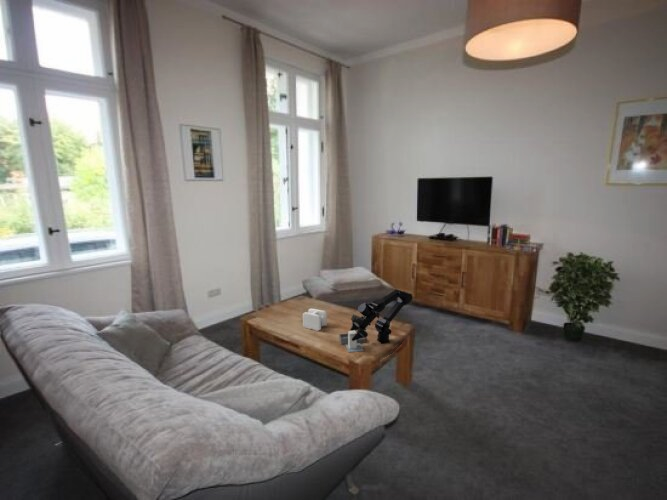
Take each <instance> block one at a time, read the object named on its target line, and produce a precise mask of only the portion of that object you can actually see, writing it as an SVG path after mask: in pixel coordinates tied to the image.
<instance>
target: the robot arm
mask: <svg viewBox="0 0 667 500" xmlns="http://www.w3.org/2000/svg"><path fill="white" fill-rule="evenodd" d="M395 300H396V302H395V303H394V304H393V306H392V307H391V308H390V309H389V310H388V312H387V313H386V314H385V316H383V317H381V316H380V313H381V312H383V310H384V309H385V308H386V306H387V305H389V304H390V303H392V302H393V301H395ZM412 301H413V294H412V293H409V292H408V291H405V290H400V289H398V288H396V289H393V291H392V292H390V293H389V294H387V295H385V296H384V297H382V298H379V299H378V298H377V299H375V300H373V301H371V303H367V302H363V303H361V304H360V305H358V307H357V312H359V314H361V316H358V315H355V314H352V316H351V318H350V320H351V323H352V324H351V328H350V329H349V331H352V330H355V331H356V334H355V336H354V337H353V338H352V341H354V340H357V339H360V338H365V339H367V337H368V335H369V333H368V331H367V328H368V326H371V323H372V322H373V321H374V320H375V319H376V318H377V320H376V321H375V324H374V328H375V330H376V331H377V332H378V333H377V338H376V341H378V343H380V344H381V345H383V344H389V343H391V340H390V335H391V334H392V329H391V328H390V326H391V323H392V320H393V319H394V318H395V317H396V316H397V314H399V312H400V311H401V310H402V308H403V307H404V306H406V305H408V304H410V303H411V302H412Z"/></svg>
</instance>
